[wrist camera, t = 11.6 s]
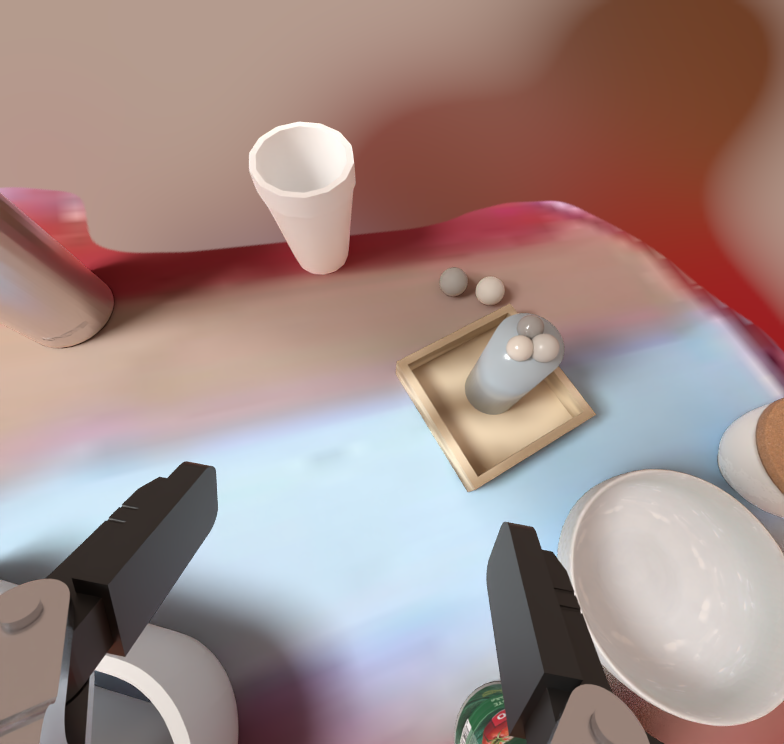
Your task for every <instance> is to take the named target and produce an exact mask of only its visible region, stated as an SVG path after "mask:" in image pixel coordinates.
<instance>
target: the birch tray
mask: <svg viewBox="0 0 784 744" xmlns="http://www.w3.org/2000/svg"><path fill="white" fill-rule="evenodd" d="M515 314H518V313H517V312H516V310H515V309H514V308H513V307H512V305H511V304H508V305H506V306H504V307H502V308H500V309H498V310H496V311H494V312H493V313H491V314H489V315H487V316H485V317H483V318H481V319H479V320H477V321H475V322H473V323H471V324H469V325H467V326H465V327H463V328H461V329H459V330H457V331H456V332H454V333H452V334H450V335H448V336H446V337H444V338H442V339H440V340H438V341H436V342H434V343H432V344H430V345H428V346H426V347H424V348H422V349H421V350H419V351H417V352H415V353H413V354H411V355H409V356H407V357H405V358H403V359H401V360H399V361H397V364H396V375H397V377H398V378H399V380H400V382H401V383H402V385H403V386H404V388H405V390H406V391H407V393H408V395H409V396H410V398H411V400H412V401H413V403H414V405H415V406H416V408H417V409H418V411H419V413H420V414H421V416H422V418H423V419H424V421H425V423H426V424H427V426H428V428H429V429H430V431H431V433H432V434H433V436H434V437H435V439H436V441H437V442H438V444H439V446H440V447H441V449H442V451H443V452H444V454H445V456H446V457H447V459H448V460H449V462H450V464H451V465H452V467H453V469H454V470H455V472H456V474H457V475H458V477H459V479H460V480H461V482H462V483H463V485H464V487H465V488H466V490H467V492H470V491H473V490H476V489H477V488H479V487H481V486H482V485H484V484H485V483H487V482H489V481H490V480H492V479H493V478H495V477H497V476H498V475H500V474H501V473H503V472H505V471H506V470H508V469H510V468H511V467H513V466H514V465H516V464H518V463H519V462H521V461H522V460H524V459H526V458H527V457H529V456H530V455H532V454H534V453H535V452H537V451H538V450H540V449H542V448H543V447H545V446H546V445H548V444H550V443H551V442H553V441H554V440H556V439H558V438H559V437H561V436H563V435H564V434H566V433H567V432H569V431H571V430H572V429H574V428H575V427H577V426H579V425H580V424H582V423H583V422H585V421H587V420H588V419H590V418H591V417H593V416H595V415H596V414H595V412H594V411H593V410H592V409H591V407H590V406H589V405H588V403H587V402H586V401H585V400H584V398H583V397H582V396H581V394H580V393H579V392H578V390H577V389H576V388H575V387H574V385H573V384H572V383H571V381H570V380H569V379H568V378H567V376H566V375H565V374H564V372H563V371H562V370H561V369H560V367H559V366H558V367H557V368H556V369H555V370H554V371H553V372H552V373H550V374H549V375H548V376H547V377H546V378H545V379H543V380H542V381H541V382H540V383H539V384H538V385H536V386H535V387H534V388H533V389H532V390H531V391H530V392H528V393H527V394H526V395H525V396H524V397H523V398H521V399H520V400H519V401H518V402H517V403H516V404H514V405H513V406H512V407H511V408H510V409H509V410H507V411H506V412H504V413H501V414H497V415H489V414H485V413H482V412H480V411H478V410H477V409H475V408H474V407H473V406H472V405H471V404H470V402H469V401H468V399H467V397H466V394H465V382H466V379H467V377H468V375H469V374H470V372H471V370H472V369H473V367H474V365H475V364H476V362H477V360H478V359H479V357H480V355H481V354H482V352H483V351H484V349H485V347H486V346H487V344H488V342H489V341H490V339H491V337H492V336H493V334H494V332H495V331H496V329H497V328H498V326H499V325H500V323H501V322H502V321H503V320H505V319H506V318H508V317H509V316H512V315H515Z"/></svg>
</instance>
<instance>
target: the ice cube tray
mask: <svg viewBox="0 0 784 744" xmlns="http://www.w3.org/2000/svg"><path fill="white" fill-rule="evenodd" d="M16 586H18V584H14V583H11V582H7V581H4V580H1V579H0V595H1V594H3V593H4V592H6V591H8V590H10V589H12V588H14V587H16ZM95 670H96V671H99V672H102V673H106V674H109V675H112V676H115V677H117V678H120V679H122V680H124V681H126V682H128V683H130V684H132V685H133V686H135V687H136V688H137V689H139V690H140V691H141V692H142V693H143V694H144V695H145V696H146V697H147V698H149V699H150V701H151V702H152V703H149V702H146V701H143V700H140V699H136V698H133V697H130V696H127V695H124V694H120V693H117V692H114V691H111V690H107V689H104V688H101V687H98V686H94V698H93V715H92V732H91V744H238V729H239V727H238V713H237V705H236V700H235V696H234V692H233V689H232V686H231V683H230V681H229V678H228V676H227V674H226V672H225V670H224V668H223V666H222V665H221V663H220V662H219V660H218V659H217V658H216V657H215V655H214V654H213V653H212V652H211V651H210V650H209V649H208V648H207V647H206V646H204V645H203V644H202V643H201V642H199V641H198V640H196V639H194V638H192V637H190V636H188V635H185V634H183V633H180V632H177V631H173V630H170V629H166V628H163V627H160V626H156V625H153V624H149V623H148V624H147V626H146V627H145V629H144V630H143V632H142V633H141V635H140V636H139V637H138V639H137V640H136V642H135V643H134V645H133V646H132V648H131V649H130V651H129V652H128V654H127V655H126V657H123V656H118V655H113V654H108V653H106V655H105V656H104V658H103V659H102V660H101V662H100V663H99V665H98V666H97V667H96V669H95Z"/></svg>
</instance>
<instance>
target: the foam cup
mask: <svg viewBox="0 0 784 744" xmlns="http://www.w3.org/2000/svg"><path fill="white" fill-rule="evenodd" d="M249 172H250V174H251V177H252V179H253V182H254V185H255V187H256V190H257V192H258V194H259V195H260V197H261V198H262V200H263V201H264V202H265V204H266V205H267V207H268V208H269V210H270V212H271V214H272V216H273V218H274V219H275V221H276V223H277V225H278V227H279V229H280V230H281V232H282V234H283V236H284V238H285V239H286V241H287V243H288V245H289V247H290V249H291V250H292V252H293V254H294V256H295V258H296V259H297V261H298V262H299V264H300V265H301V267H302V268H303V269H305V270H307V271H309V272H310V273H312V274H323V275H325V274H328V273H331V272H335V271H337V270H338V269H339V268H340V267H341V266H343V265H344V264H345V261H346V259H347V257H348V252H349V239H350V225H351V212H352V199H353V188H354V186H355V184H356V182H355V169H354V159H353V152H352V146H351V145H350V143H349V142H348V141H347V140H346V139H345V138H344V136H343V135H342V134H341V133H340V132H338V131H336V130H334V129H332V128H329V127H327V126H325V125H323V124H318V123H307V122H296V123H291V124H287V125H283V126H278V127H276V128H274V129H273V130H271V131H269V132H268V133H266V134H265V135H263V136H261V137H260V138H259V139H258V141H257V142H256V144H255V145H254V147H253V148H252V150H251V151H250V153H249Z"/></svg>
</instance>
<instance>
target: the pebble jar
mask: <svg viewBox="0 0 784 744" xmlns="http://www.w3.org/2000/svg"><path fill="white" fill-rule="evenodd" d="M563 356H564V343H563V340H562V337H561V335H560V333H559V332H558V330H557V329H556V328H555V327H554V326H553V325H552V324H551V323H550V322H549V321H547V320H546V319H544V318H542V317H540V316H537V315H534V314H529V313H520V314H515V315H512V316H509V317H508V318H506V319H505V320H503V321H502V322H501V323H500V325H499V326H498V328H497V329H496V331H495V332H494V334H493V336H492V337H491V339H490V341H489V342H488V344H487V346H486V347H485V349H484V351H483V352H482V354H481V355H480V357H479V359H478V360H477V362H476V364H475V365H474V367H473V369H472V370H471V372H470V374H469V375H468V377H467V379H466V382H465V394H466V397H467V399H468V401H469V402H470V404H471V405H472V406H473V407H474V408H475V409H477V410H478V411H480V412H482V413H485V414H489V415H497V414H501V413H504V412H506V411H507V410H509V409H510V408H511V407H512V406H513V405H514V404H516V403H517V402H518V401H519V400H520V399H521V398H523V397H524V396H525V395H526V394H527V393H528V392H530V391H531V390H532V389H533V388H534V387H535V386H536V385H538V384H539V383H540V382H541V381H542V380H543V379H545V378H546V377H547V376H548V375H549V374H550V373H552V372H553V371H554V370H555V369H556V368H557V367H558V366H559V365H560V363H561V361H562V359H563Z"/></svg>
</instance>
